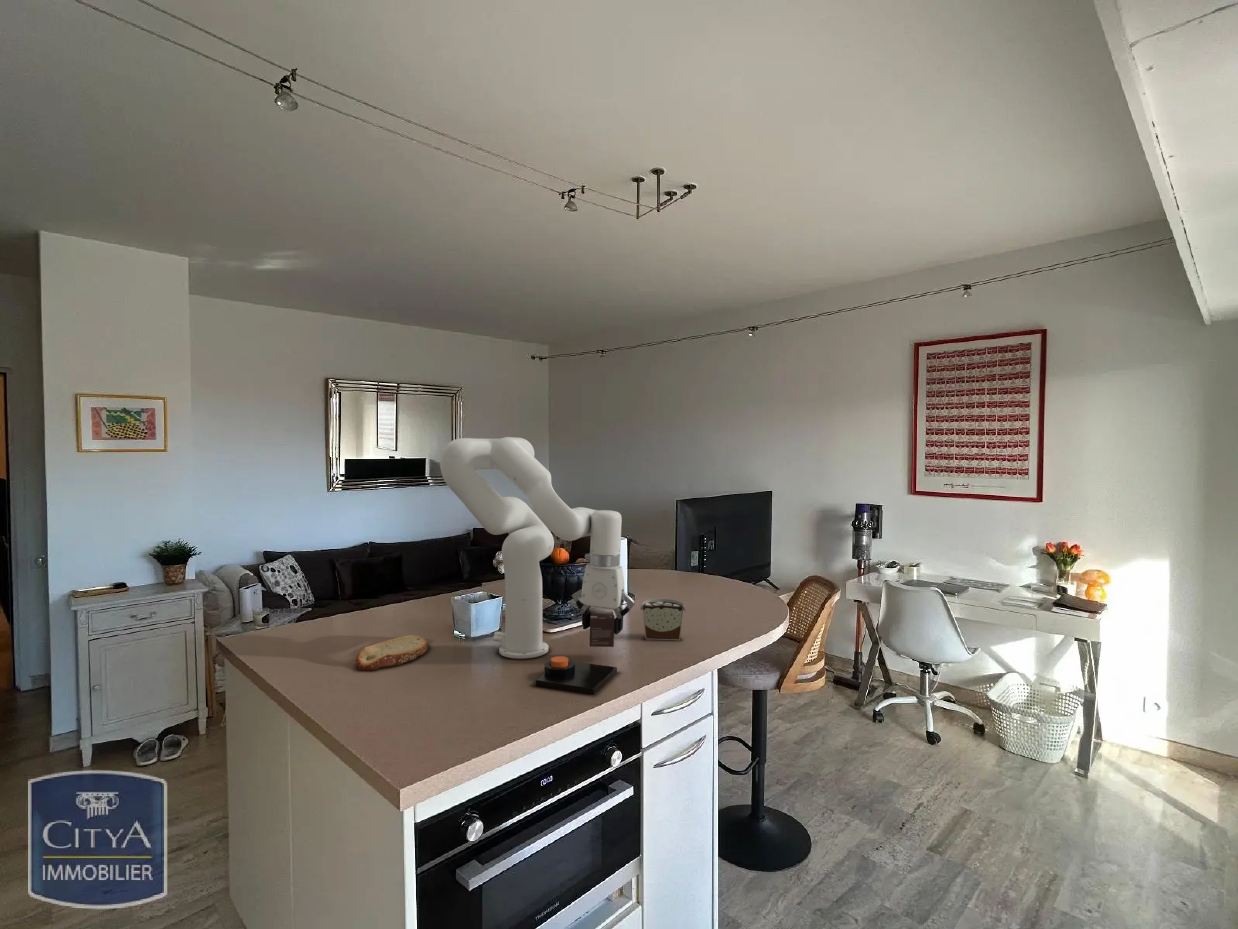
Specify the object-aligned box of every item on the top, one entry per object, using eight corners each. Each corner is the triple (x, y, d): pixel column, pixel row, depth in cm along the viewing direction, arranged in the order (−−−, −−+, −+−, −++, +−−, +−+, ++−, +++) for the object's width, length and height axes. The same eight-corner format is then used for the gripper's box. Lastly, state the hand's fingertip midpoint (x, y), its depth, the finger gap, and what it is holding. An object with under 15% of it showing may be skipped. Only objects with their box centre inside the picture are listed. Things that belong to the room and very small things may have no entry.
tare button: (547, 667, 142) (547, 660, 142) (555, 661, 146) (555, 655, 146) (563, 669, 141) (563, 663, 141) (571, 664, 145) (571, 657, 144)
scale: (531, 685, 138) (531, 672, 138) (559, 665, 151) (559, 653, 151) (593, 695, 133) (593, 681, 133) (617, 673, 146) (617, 660, 146)
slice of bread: (424, 641, 169) (424, 627, 169) (435, 662, 153) (435, 647, 153) (353, 650, 162) (352, 636, 162) (356, 673, 146) (356, 657, 145)
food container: (685, 634, 177) (685, 598, 176) (685, 640, 171) (685, 604, 170) (641, 632, 178) (641, 597, 178) (640, 639, 172) (640, 603, 172)
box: (613, 640, 159) (614, 611, 159) (613, 648, 153) (615, 618, 153) (589, 639, 159) (590, 610, 158) (589, 647, 153) (590, 617, 152)
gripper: (566, 559, 155) (563, 629, 155) (632, 566, 148) (629, 640, 149) (579, 554, 162) (576, 621, 162) (642, 561, 155) (639, 631, 156)
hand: (601, 630), depth 156 cm, fingers closed on box, 7 cm apart
